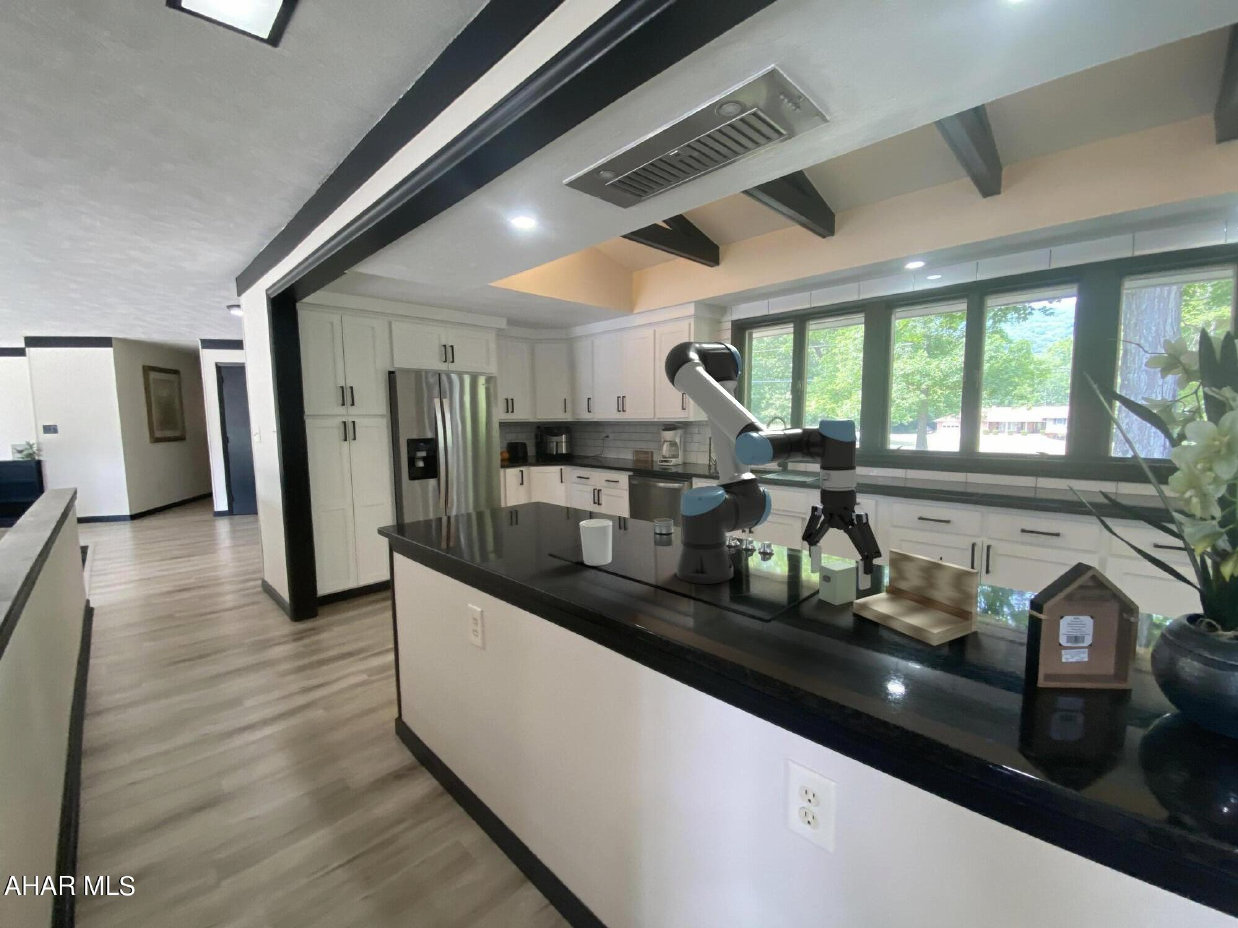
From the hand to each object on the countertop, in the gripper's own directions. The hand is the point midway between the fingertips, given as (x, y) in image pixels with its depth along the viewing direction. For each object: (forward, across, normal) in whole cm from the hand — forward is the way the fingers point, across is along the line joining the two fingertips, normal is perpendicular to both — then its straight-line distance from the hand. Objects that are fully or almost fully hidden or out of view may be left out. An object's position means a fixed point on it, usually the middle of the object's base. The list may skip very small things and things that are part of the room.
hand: (839, 579), depth 118 cm
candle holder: (+4, -58, -36) cm, 68 cm away
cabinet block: (+5, -1, 0) cm, 5 cm away
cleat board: (+5, +15, +4) cm, 17 cm away
